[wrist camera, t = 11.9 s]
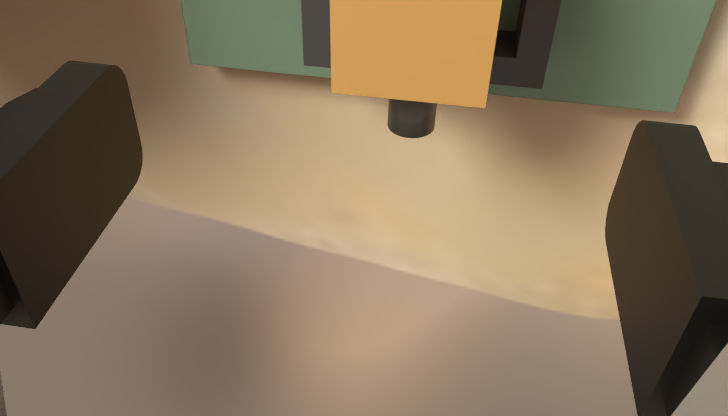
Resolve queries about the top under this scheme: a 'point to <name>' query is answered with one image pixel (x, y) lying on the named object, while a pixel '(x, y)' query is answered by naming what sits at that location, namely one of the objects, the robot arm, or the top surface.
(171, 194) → the top surface
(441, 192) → the top surface
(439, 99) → the keyed plug
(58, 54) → the top surface
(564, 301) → the top surface
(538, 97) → the board
